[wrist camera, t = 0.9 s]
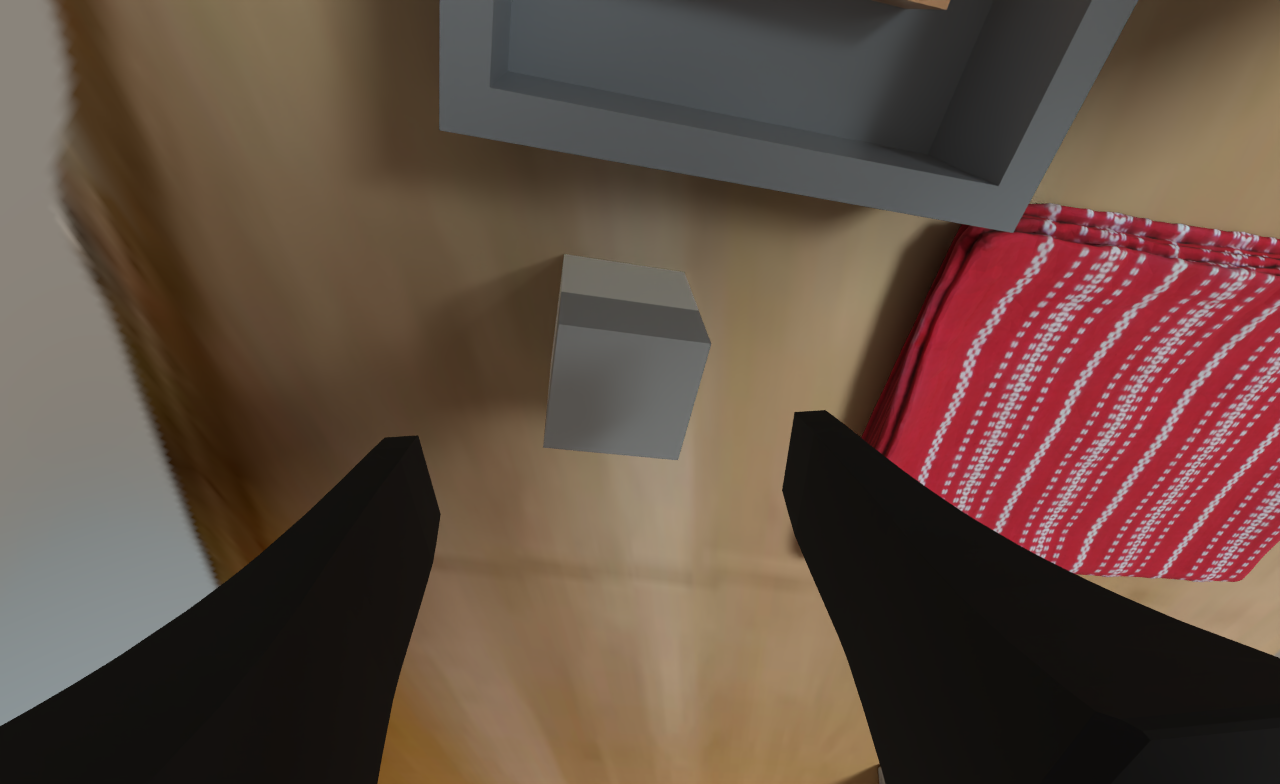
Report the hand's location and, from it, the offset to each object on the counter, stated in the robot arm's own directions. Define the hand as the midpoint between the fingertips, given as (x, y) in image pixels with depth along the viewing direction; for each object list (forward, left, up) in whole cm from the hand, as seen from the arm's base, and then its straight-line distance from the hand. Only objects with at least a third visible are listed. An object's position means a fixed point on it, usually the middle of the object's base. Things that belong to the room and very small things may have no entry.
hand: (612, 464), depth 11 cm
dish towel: (-23, +3, -10) cm, 25 cm away
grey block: (-1, +1, -10) cm, 10 cm away
